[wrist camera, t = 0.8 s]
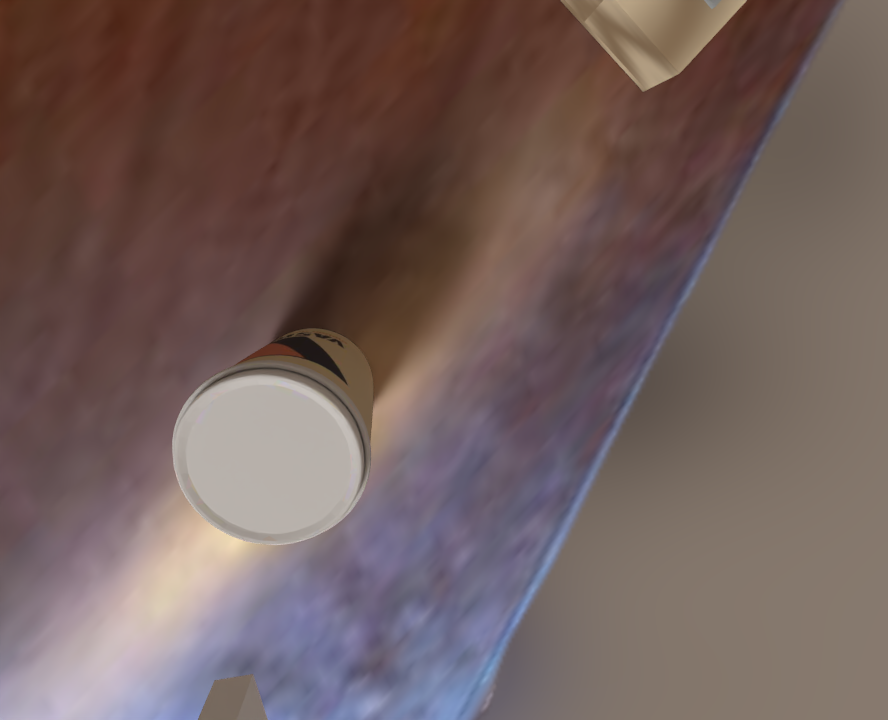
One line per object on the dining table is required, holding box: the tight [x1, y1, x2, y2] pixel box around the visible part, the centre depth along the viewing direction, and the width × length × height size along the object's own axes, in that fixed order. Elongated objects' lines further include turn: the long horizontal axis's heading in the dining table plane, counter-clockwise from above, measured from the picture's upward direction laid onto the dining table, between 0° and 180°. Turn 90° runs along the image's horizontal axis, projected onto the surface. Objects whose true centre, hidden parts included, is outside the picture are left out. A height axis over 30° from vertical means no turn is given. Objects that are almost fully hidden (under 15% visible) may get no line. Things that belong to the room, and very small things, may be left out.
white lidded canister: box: [172, 328, 374, 545], centre depth 32 cm, size 9×9×12 cm
